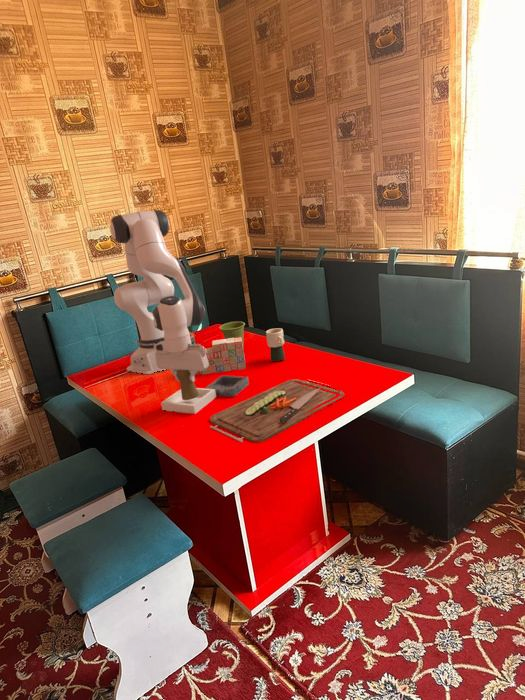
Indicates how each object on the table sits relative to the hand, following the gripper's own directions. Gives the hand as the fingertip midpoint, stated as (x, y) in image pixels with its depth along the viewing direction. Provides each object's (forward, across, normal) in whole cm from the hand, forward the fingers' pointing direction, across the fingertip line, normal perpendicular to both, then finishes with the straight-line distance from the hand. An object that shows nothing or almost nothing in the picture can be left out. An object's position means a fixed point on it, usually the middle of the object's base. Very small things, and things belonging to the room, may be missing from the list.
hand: (185, 380), depth 179 cm
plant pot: (+9, +14, -59) cm, 61 cm away
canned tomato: (+9, +42, -60) cm, 74 cm away
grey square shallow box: (+9, -8, -14) cm, 18 cm away
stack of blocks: (+9, +7, -33) cm, 35 cm away
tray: (+9, 0, 0) cm, 9 cm away
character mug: (+9, -14, -46) cm, 49 cm away
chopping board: (+10, -34, -3) cm, 35 cm away
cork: (+6, -1, 0) cm, 6 cm away
